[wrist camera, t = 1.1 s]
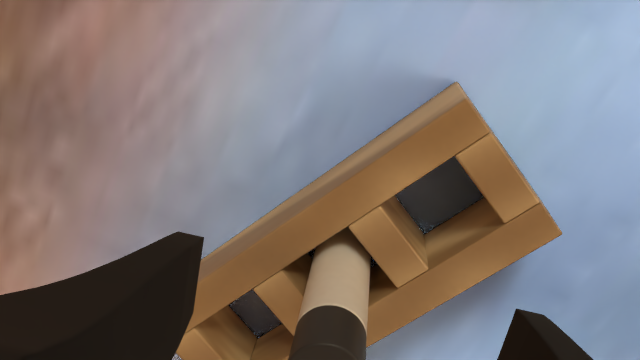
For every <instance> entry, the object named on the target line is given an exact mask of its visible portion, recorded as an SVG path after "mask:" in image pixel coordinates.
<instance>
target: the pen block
mask: <svg viewBox="0 0 640 360" xmlns="http://www.w3.org/2000/svg"><path fill="white" fill-rule="evenodd" d="M453 156H455V157H456V159H457V161H458V162H459V163H460V165H461V166H462V167H463V169H464V170H465V171H466V173H467V174H468V176H469V177H470V178H471V180H472V181H473V182H474V184H475V185H476V187H477V188H478V189H479V191H480V192H481V193H482V195H483V196H484V198H482V199H481V200H479V201H477V202H476V203H474V204H473V205H471V206H469V207H468V208H466V209H465V210H463V211H461V212H460V213H458V214H457V215H455V216H453V217H452V218H450V219H449V220H447V221H445V222H444V223H442V224H441V225H439V226H437V227H436V228H434V229H433V230H431V231H429V232H428V233H426V234H425V235H424V233H423V232H422V231H421V229H420V228H419V227H418V225H417V224H416V223H415V221H414V220H413V219H412V218H411V216H410V215H409V214H408V212H407V211H406V210H405V208H404V207H403V206H402V205H401V203H400V202H399V201H398V199H397V198H396V197H395V195H396V194H397V193H399V192H400V191H402V190H403V189H405V188H406V187H408V186H409V185H411V184H412V183H414V182H415V181H417V180H418V179H420V178H421V177H423V176H424V175H426V174H427V173H429V172H430V171H432V170H434V169H435V168H437V167H438V166H440V165H441V164H443V163H444V162H446V161H447V160H449V159H450V158H452V157H453ZM347 226H348V227H349V229H350V230H351V231H352V233H353V234H354V235H355V236H356V238H357V239H358V240H359V241H360V243H361V244H362V245H363V246H364V248H365V249H366V250H367V251H368V253H369V254H370V255H371V256H372V258H373V259H374V260H375V261H376V263H377V265H375V266H373V267H372V268H370V282H369V301H368V321H367V341H366V348H367V347H368V346H370V345H372V344H374V343H375V342H377V341H379V340H381V339H382V338H384V337H386V336H387V335H389V334H391V333H393V332H394V331H396V330H398V329H400V328H401V327H403V326H405V325H406V324H408V323H410V322H412V321H413V320H415V319H417V318H419V317H420V316H422V315H424V314H425V313H427V312H429V311H431V310H432V309H434V308H436V307H438V306H439V305H441V304H443V303H444V302H446V301H448V300H450V299H451V298H453V297H455V296H457V295H458V294H460V293H462V292H463V291H465V290H467V289H469V288H470V287H472V286H474V285H476V284H477V283H479V282H481V281H482V280H484V279H486V278H488V277H489V276H491V275H493V274H495V273H496V272H498V271H500V270H501V269H503V268H505V267H507V266H508V265H510V264H512V263H514V262H515V261H517V260H519V259H520V258H522V257H524V256H526V255H527V254H529V253H531V252H533V251H534V250H536V249H538V248H539V247H541V246H543V245H545V244H546V243H548V242H550V241H552V240H553V239H555V238H557V237H558V236H560V235H562V232H561V230H560V229H559V227H558V226H557V224H556V223H555V221H554V220H553V218H552V216H551V215H550V213H549V212H548V210H547V209H546V207H545V206H544V204H543V203H542V201H541V200H540V198H539V197H538V196H537V194H536V193H535V191H534V190H533V188H532V187H531V186H530V184H529V183H528V181H527V180H526V178H525V177H524V176H523V174H522V173H521V171H520V170H519V169H518V167H517V166H516V164H515V163H514V161H513V160H512V159H511V157H510V156H509V154H508V153H507V151H506V150H505V149H504V147H503V146H502V144H501V143H500V142H499V140H498V139H497V137H496V136H495V134H494V133H493V132H492V130H491V129H490V127H489V126H488V124H487V123H486V122H485V120H484V119H483V117H482V116H481V114H480V113H479V112H478V110H477V109H476V107H475V106H474V105H473V103H472V102H471V100H470V99H469V97H468V96H467V95H466V93H465V92H464V90H463V89H462V87H461V86H460V85H459V83H458V82H454V83H453V84H452V85H450V86H449V87H447V88H446V89H444V90H443V91H442V92H440V93H439V94H437V95H436V96H434V97H433V98H432V99H430V100H429V101H427V102H426V103H424V104H423V105H422V106H420V107H419V108H417V109H416V110H414V111H413V112H412V113H410V114H409V115H407V116H406V117H404V118H403V119H402V120H400V121H399V122H397V123H396V124H394V125H393V126H392V127H390V128H389V129H387V130H386V131H384V132H383V133H382V134H380V135H379V136H377V137H376V138H374V139H373V140H372V141H370V142H369V143H367V144H366V145H364V146H363V147H362V148H360V149H359V150H357V151H356V152H354V153H353V154H352V155H350V156H349V157H347V158H346V159H344V160H343V161H342V162H340V163H339V164H337V165H336V166H335V167H333V168H332V169H330V170H329V171H327V172H326V173H325V174H323V175H322V176H320V177H319V178H317V179H316V180H315V181H313V182H312V183H310V184H309V185H307V186H306V187H305V188H303V189H302V190H300V191H299V192H297V193H296V194H295V195H293V196H292V197H290V198H289V199H287V200H286V201H285V202H283V203H282V204H280V205H279V206H277V207H276V208H275V209H273V210H272V211H270V212H269V213H267V214H266V215H265V216H263V217H262V218H260V219H259V220H257V221H256V222H255V223H253V224H252V225H250V226H249V227H247V228H246V229H245V230H243V231H242V232H240V233H239V234H237V235H236V236H235V237H233V238H232V239H230V240H229V241H227V242H226V243H225V244H223V245H222V246H220V247H219V248H217V249H216V250H215V251H213V252H212V253H210V254H209V255H207V256H206V257H205V258H203V259H202V260H201V262H200V269H199V276H198V283H197V290H196V297H195V304H194V311H193V315H192V317H191V320H190V322H189V324H188V327H187V329H186V331H185V334H184V336H183V338H182V340H181V343H180V345H179V347H178V349H177V351H176V353H177V354H178V356H179V357H180V358H181V359H182V360H288V358H289V354H290V350H291V346H292V342H293V338H294V334H295V330H296V326H297V321H298V317H299V313H300V309H301V305H302V301H303V297H304V293H305V289H306V285H307V281H308V277H309V273H310V269H311V265H312V260H313V259H312V258H311V257H310V256H309V255H308V252H309V251H311V250H312V249H314V248H315V247H317V246H318V245H320V244H321V243H323V242H324V241H326V240H327V239H329V238H330V237H332V236H333V235H335V234H336V233H338V232H339V231H341V230H342V229H344V228H346V227H347ZM253 288H254V289H253ZM251 289H253V290H254V291H255V293H256V294H257V295H258V296H259V297H260V298H261V299H262V301H263V302H264V303H265V304H266V305H267V306H268V307H269V309H270V310H271V311H272V312H273V313H274V314H275V315H276V317H277V318H278V319H279V320H280V321H281V322H282V324H281V325H279V326H277V327H276V328H274V329H273V330H271V331H269V332H268V333H266V334H265V335H263V336H261V337H260V338H258V339H257V337H256V336H255V335H254V334H253V332H252V331H251V330H250V329H249V328H248V327H247V326H246V325H245V324H244V322H243V321H242V320H241V319H240V318H239V317H238V316H237V315H236V313H235V312H234V311H233V310H232V309H231V308H230V307H229V306H228V305H229V304H230V303H232V302H233V301H235V300H236V299H238V298H239V297H241V296H242V295H244V294H245V293H247V292H248V291H250V290H251Z"/></svg>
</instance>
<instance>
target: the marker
mask: <svg viewBox="0 0 640 360" xmlns="http://www.w3.org/2000/svg"><path fill="white" fill-rule="evenodd" d="M370 262H371V255H370V254H369V253H368V251H367V250H366V249H365V248H364V246H363V245H362V244H361V243H360V241H359V240H358V239H357V238H356V236H355V235H354V234H353V233H352V231H351V230H350V229H349V227H348V226H347V227H346V228H344V229H342V230H341V231H339V232H338V233H336V234H335V235H333V236H332V237H330V238H329V239H327V240H326V241H324V242H323V243H321V244H320V245H318V246H317V247H316V248H315V252H314V256H313V260H312V265H311V269H310V273H309V277H308V281H307V285H306V289H305V293H304V297H303V301H302V305H301V309H300V313H299V317H298V321H297V326H296V330H295V334H294V338H293V342H292V346H291V350H290V354H289V358H288V360H366V341H367V321H368V301H369V282H370Z"/></svg>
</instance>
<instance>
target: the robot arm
mask: <svg viewBox="0 0 640 360" xmlns="http://www.w3.org/2000/svg"><path fill="white" fill-rule="evenodd" d="M203 241H204V237H200V236H195V235H191V234H187V233H182V232H176V233H173V234H171V235H169V236H167V237H164V238H162V239H160V240H158V241H156V242H154V243H152V244H150V245H148V246H146V247H144V248H142V249H139V250H137V251H135V252H133V253H131V254H129V255H127V256H124V257H122V258H120V259H118V260H115V261H113V262H110V263H108V264H105V265H103V266H100V267H98V268H95V269H93V270H90V271H88V272H85V273H83V274H80V275H77V276H74V277H71V278H68V279H65V280H61V281H58V282H55V283H51V284H48V285H44V286H40V287H37V288H32V289H27V290H23V291H18V292H13V293H8V294H4V295H0V360H171V359H172V358H173V356H174V354H175V353H176V351H177V349H178V347H179V345H180V343H181V340H182V338H183V336H184V334H185V331H186V329H187V327H188V324H189V322H190V320H191V317H192V315H193V311H194V304H195V297H196V290H197V283H198V276H199V269H200V262H201V255H202V248H203ZM497 360H593V359H592V358H591V357H590V356H589V355H588V354H587V353H586V352H585V351H584V350H582V349H581V348H580V347H579V346H578V345H577V344H576V343H575V342H574V341H573V340H572V339H571V338H570V337H569V336H568V335H567V334H565V333H564V332H563V331H562V330H561V329H560V328H559V327H558V326H557V325H555V324H554V323H553V322H552V321H551V320H550V319H548V318H547V317H546V316H544V315H542V314H537V313H533V312H529V311H524V310H520V309H516V311H515V314H514V316H513V319H512V322H511V324H510V327H509V330H508V332H507V335H506V338H505V341H504V343H503V346H502V349H501V351H500V354H499V357H498V359H497Z"/></svg>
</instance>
